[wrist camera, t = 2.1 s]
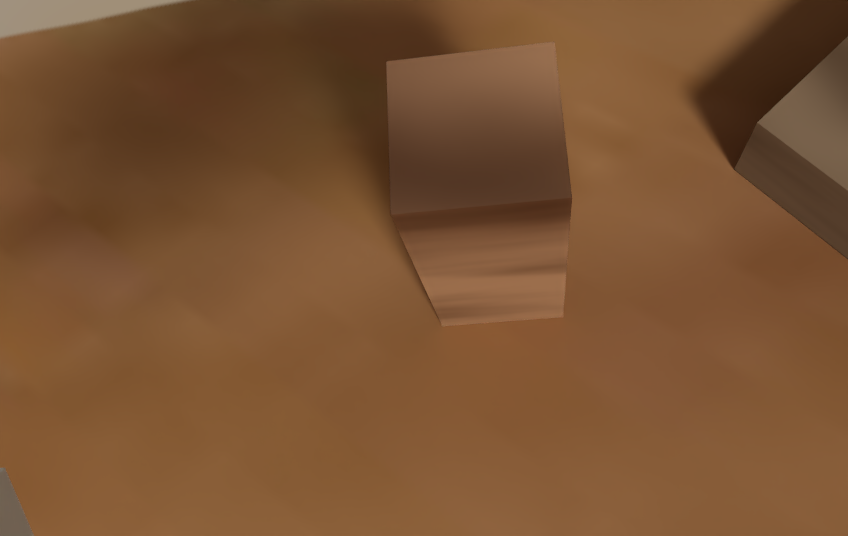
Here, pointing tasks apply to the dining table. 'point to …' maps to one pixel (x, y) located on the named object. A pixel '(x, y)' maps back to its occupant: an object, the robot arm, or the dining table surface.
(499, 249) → the cherry block
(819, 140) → the tray
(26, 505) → the dining table surface
